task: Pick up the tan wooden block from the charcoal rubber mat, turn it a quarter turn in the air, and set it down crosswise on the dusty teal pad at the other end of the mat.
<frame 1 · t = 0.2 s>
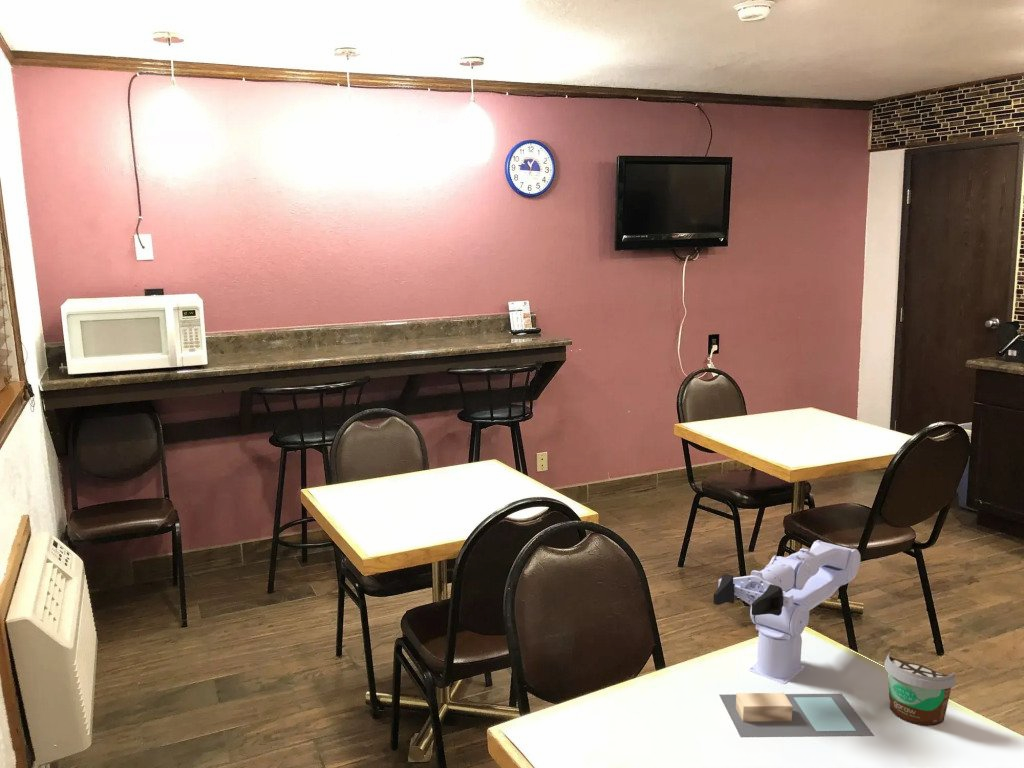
hand: (733, 604, 150), 21 cm above the table, tool horizontal, fingers open, 7 cm apart
tan wooden block: (763, 714, 151), resting on mat
food container: (911, 719, 151), on the table
mat: (793, 716, 151), on the table
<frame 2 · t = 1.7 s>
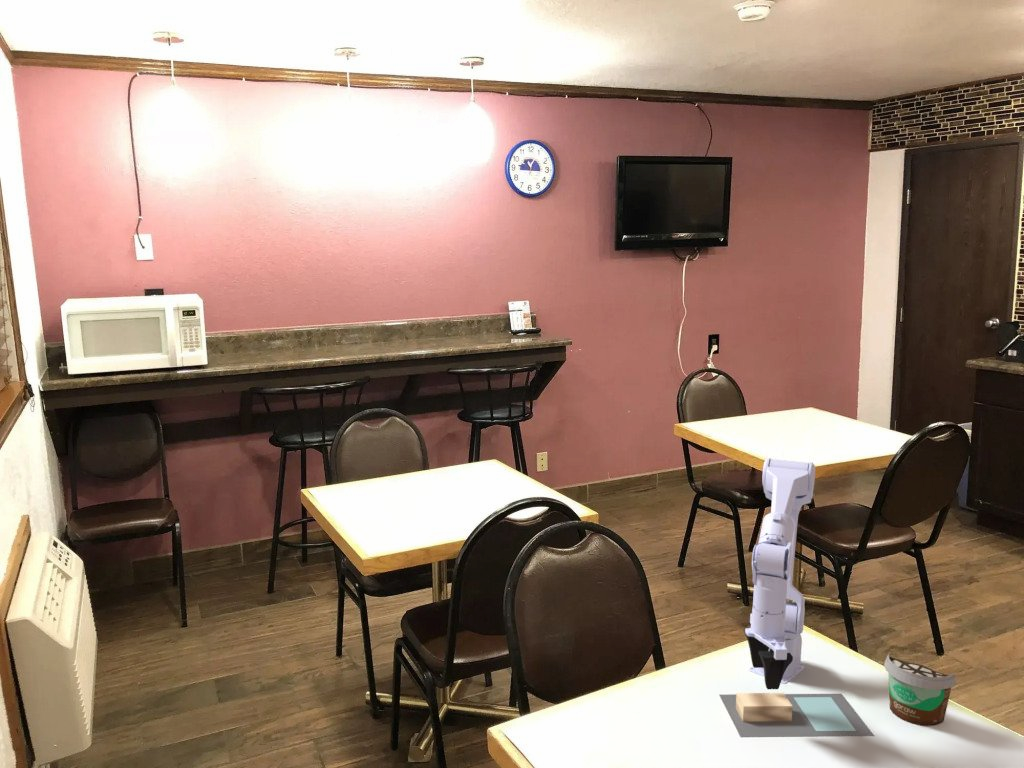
hand: (765, 677, 150), 8 cm above the table, tool pointing down, fingers open, 7 cm apart
nothing on the table moved.
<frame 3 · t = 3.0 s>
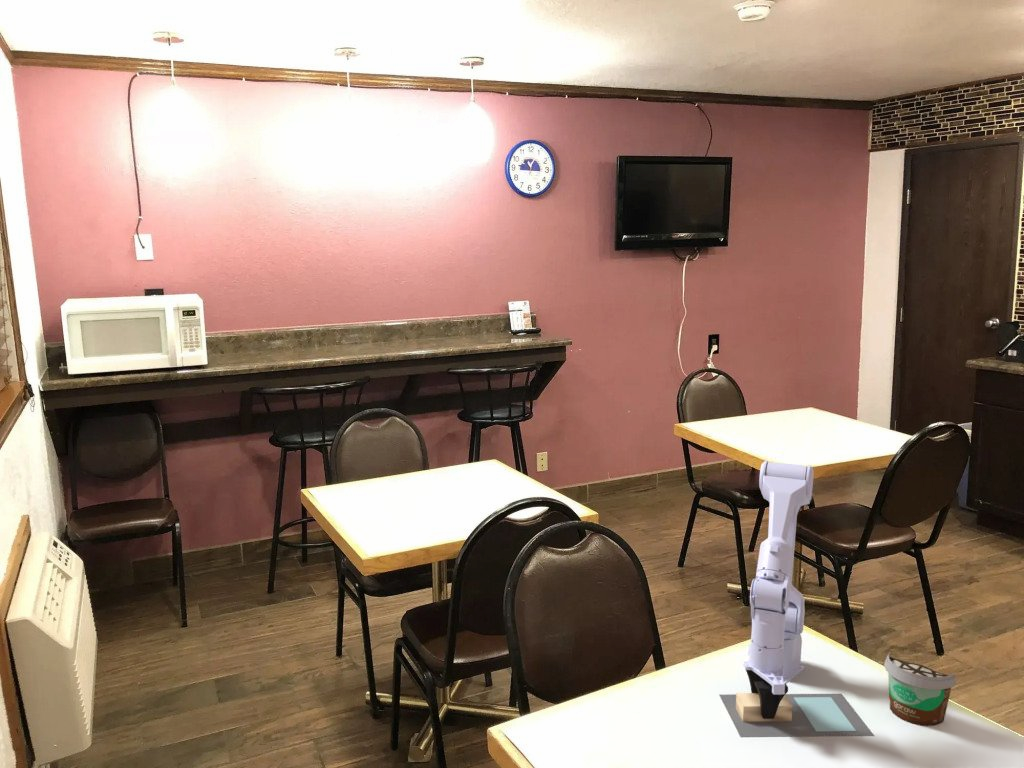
hand: (763, 710, 151), 1 cm above the table, tool pointing down, fingers closed on tan wooden block, 4 cm apart
tan wooden block: (763, 714, 151), resting on mat, touching gripper
everything else where it was.
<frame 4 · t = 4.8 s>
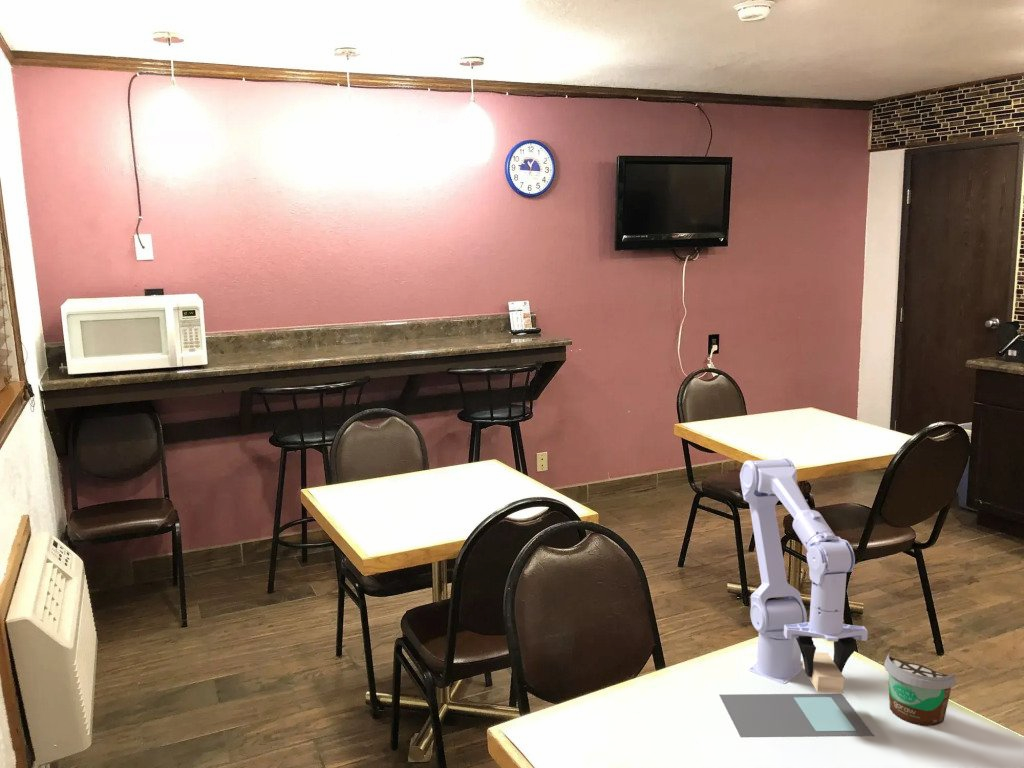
hand: (822, 674, 150), 8 cm above the table, tool pointing down, fingers closed on tan wooden block, 4 cm apart
tan wooden block: (822, 679, 150), point 7 cm above the table, touching gripper
everything else where it was.
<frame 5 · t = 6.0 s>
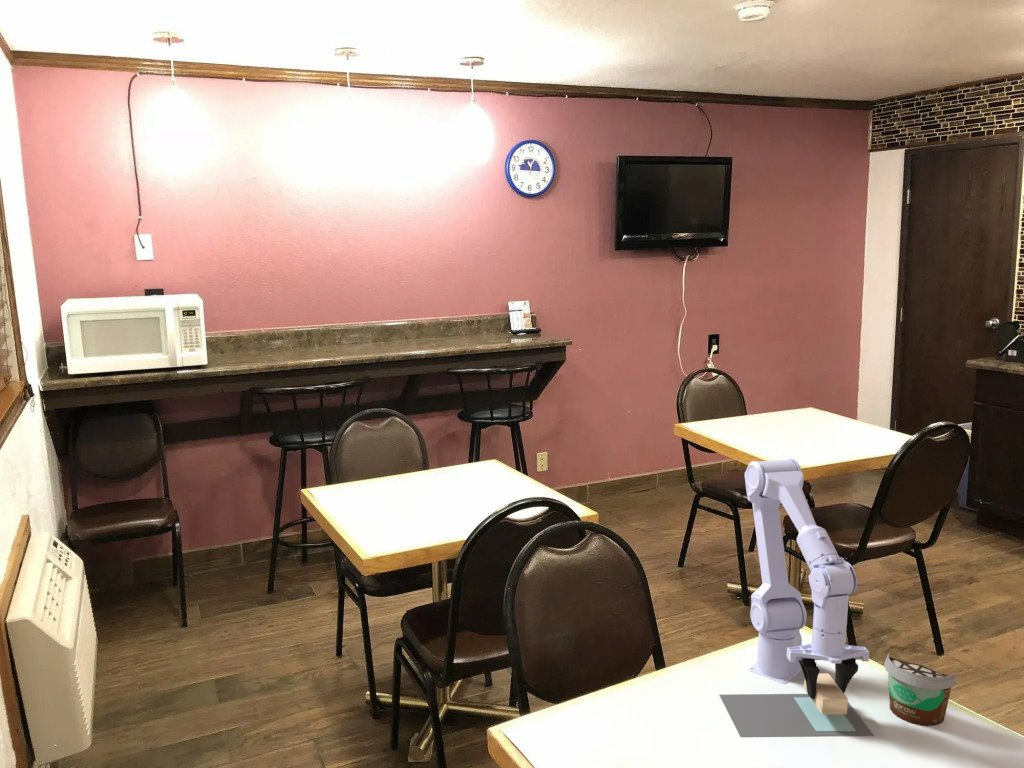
hand: (824, 695, 151), 4 cm above the table, tool pointing down, fingers closed on tan wooden block, 4 cm apart
tan wooden block: (824, 700, 151), point 3 cm above the table, touching gripper
everything else where it was.
when the fingers open (3 cm above the table, at t = 6.8 s): tan wooden block drops 1 cm, resting on mat.
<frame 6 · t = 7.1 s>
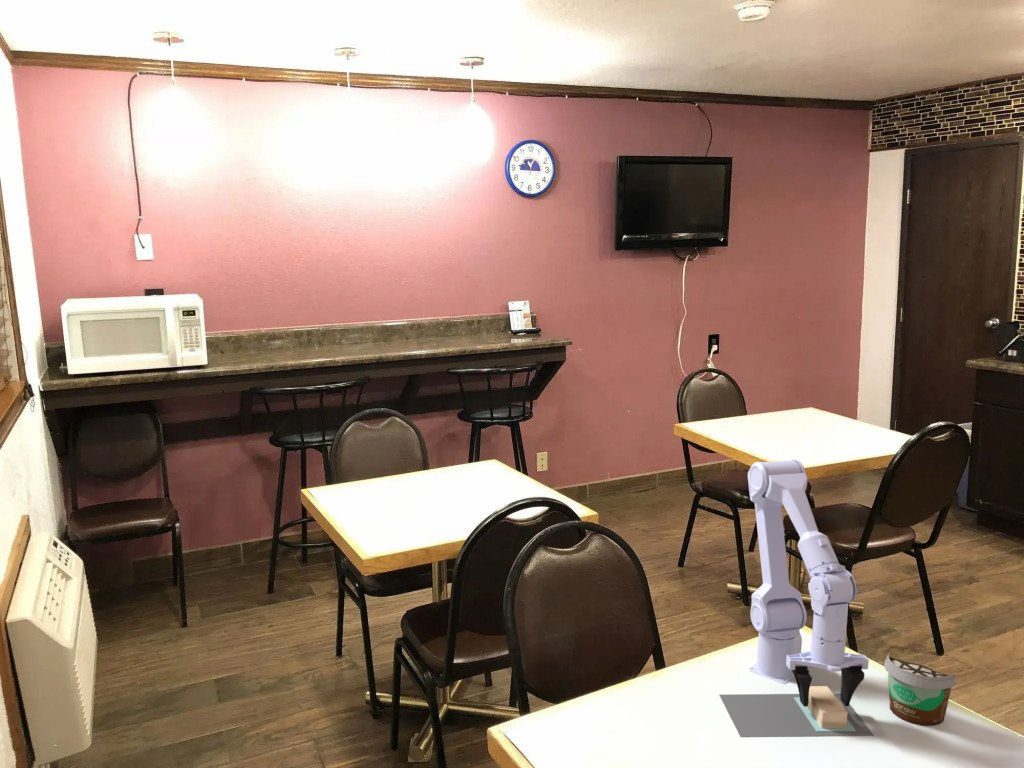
hand: (824, 703, 151), 3 cm above the table, tool pointing down, fingers open, 7 cm apart
tan wooden block: (824, 713, 151), point 1 cm above the table, touching mat
everything else where it was.
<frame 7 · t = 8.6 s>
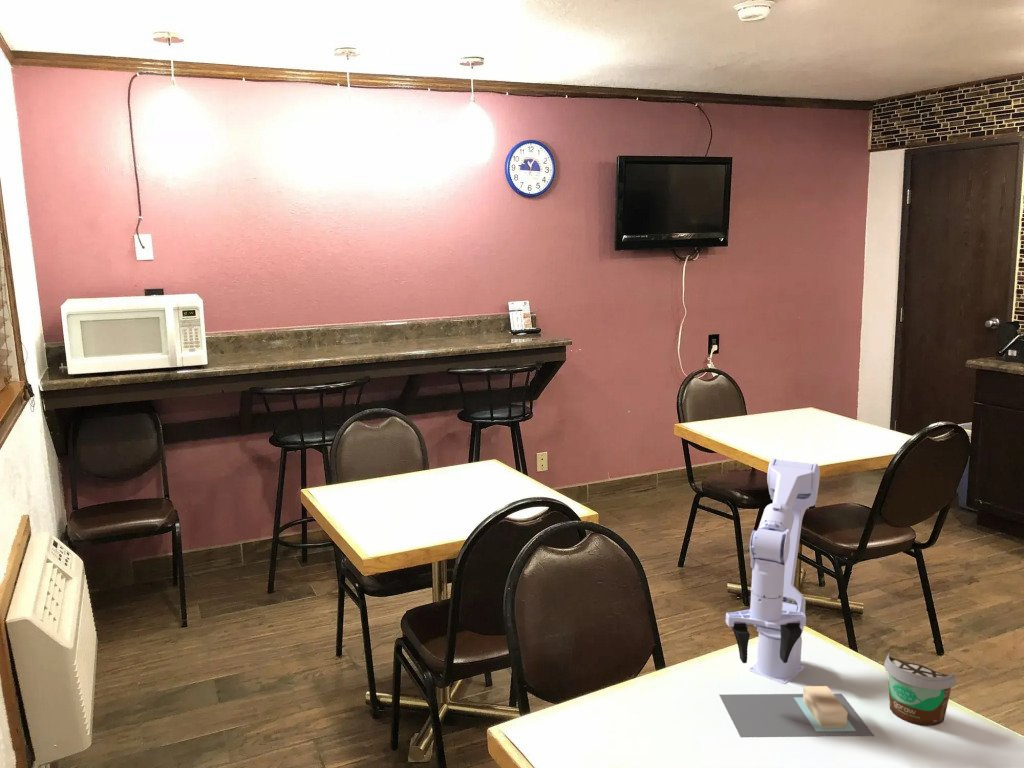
hand: (763, 660, 153), 9 cm above the table, tool pointing down, fingers open, 7 cm apart
nothing on the table moved.
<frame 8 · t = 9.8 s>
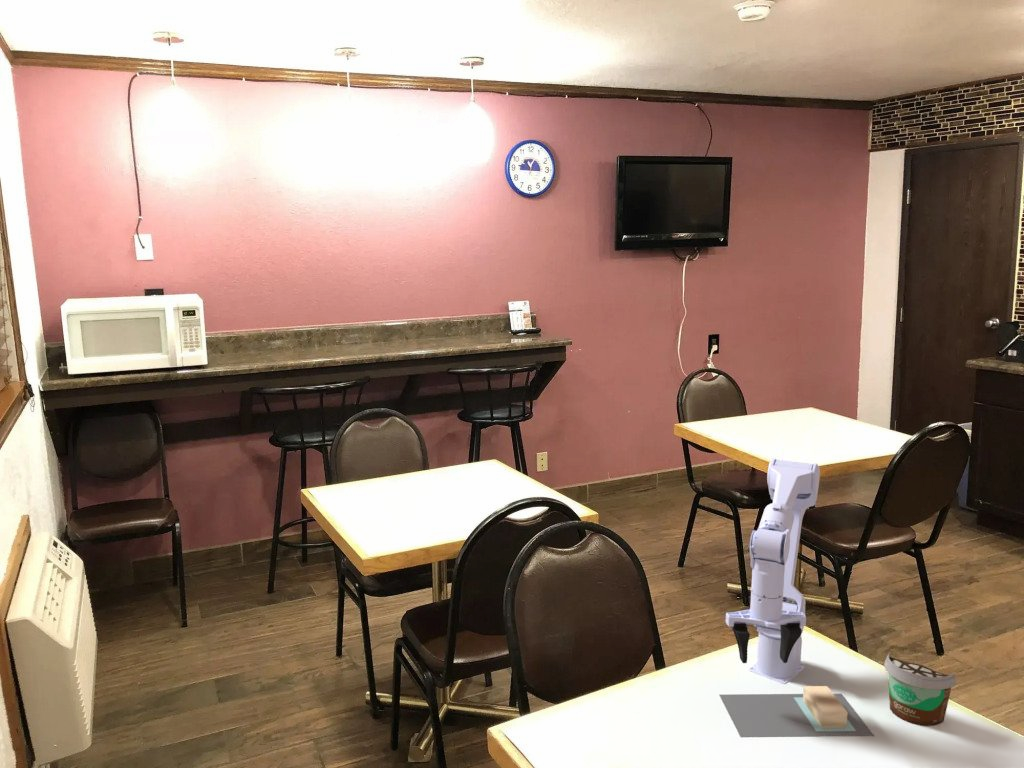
hand: (763, 660, 153), 9 cm above the table, tool pointing down, fingers open, 7 cm apart
nothing on the table moved.
at the end: tan wooden block 0.1 cm from the target spot on the mat, point 0.6 cm above the mat's base; tan wooden block tilted 0°; the gripper is holding nothing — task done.
